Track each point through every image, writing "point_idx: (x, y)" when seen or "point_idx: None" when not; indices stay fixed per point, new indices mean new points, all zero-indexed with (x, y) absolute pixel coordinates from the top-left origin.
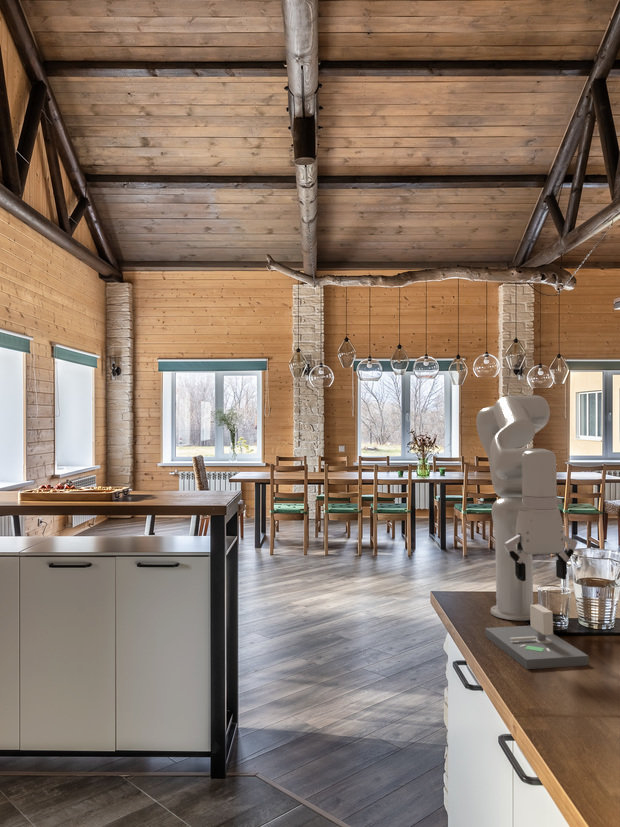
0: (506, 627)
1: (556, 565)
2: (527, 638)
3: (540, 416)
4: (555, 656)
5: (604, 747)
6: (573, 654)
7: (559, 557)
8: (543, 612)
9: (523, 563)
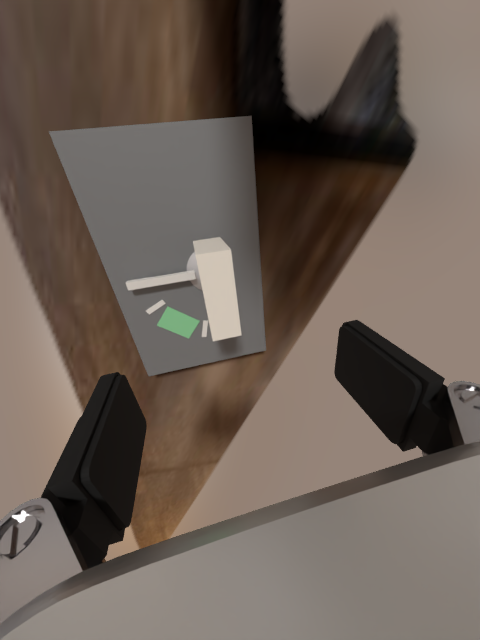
0: (132, 133)
1: (385, 364)
2: (173, 281)
3: None
4: (207, 357)
5: (186, 502)
6: (243, 346)
7: (445, 428)
8: (213, 340)
9: (111, 542)
